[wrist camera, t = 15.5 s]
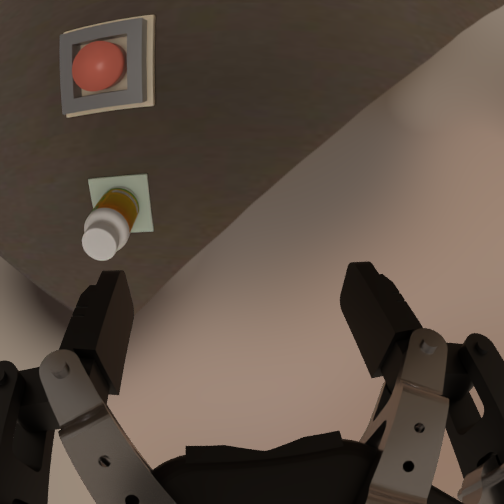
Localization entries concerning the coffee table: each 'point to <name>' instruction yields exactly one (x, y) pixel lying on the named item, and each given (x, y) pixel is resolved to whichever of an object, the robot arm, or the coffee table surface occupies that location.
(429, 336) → the robot arm
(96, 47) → the dome button
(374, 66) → the coffee table surface
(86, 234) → the supplement bottle
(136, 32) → the dome console
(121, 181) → the mat
